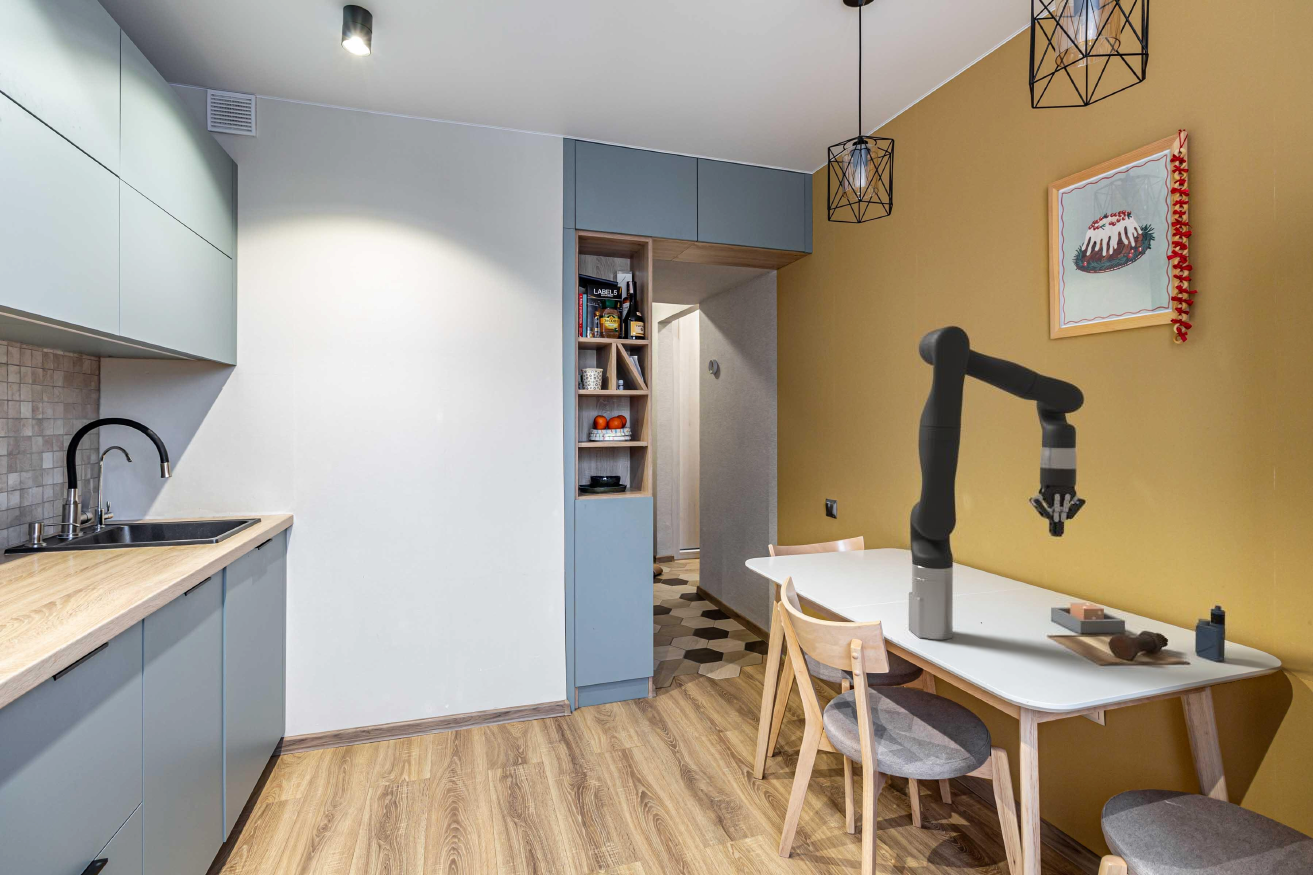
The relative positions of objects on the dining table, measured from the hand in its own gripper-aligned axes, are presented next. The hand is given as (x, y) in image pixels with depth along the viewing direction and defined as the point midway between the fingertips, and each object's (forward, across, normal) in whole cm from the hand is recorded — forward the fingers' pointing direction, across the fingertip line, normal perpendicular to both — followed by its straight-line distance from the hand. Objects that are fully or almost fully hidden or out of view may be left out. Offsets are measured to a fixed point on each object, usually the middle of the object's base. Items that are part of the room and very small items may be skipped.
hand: (1056, 536), depth 152 cm
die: (+21, +11, +4) cm, 24 cm away
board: (+24, +7, -11) cm, 27 cm away
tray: (+24, +11, +4) cm, 27 cm away
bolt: (+24, +10, -14) cm, 30 cm away
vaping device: (+24, +24, -16) cm, 38 cm away
